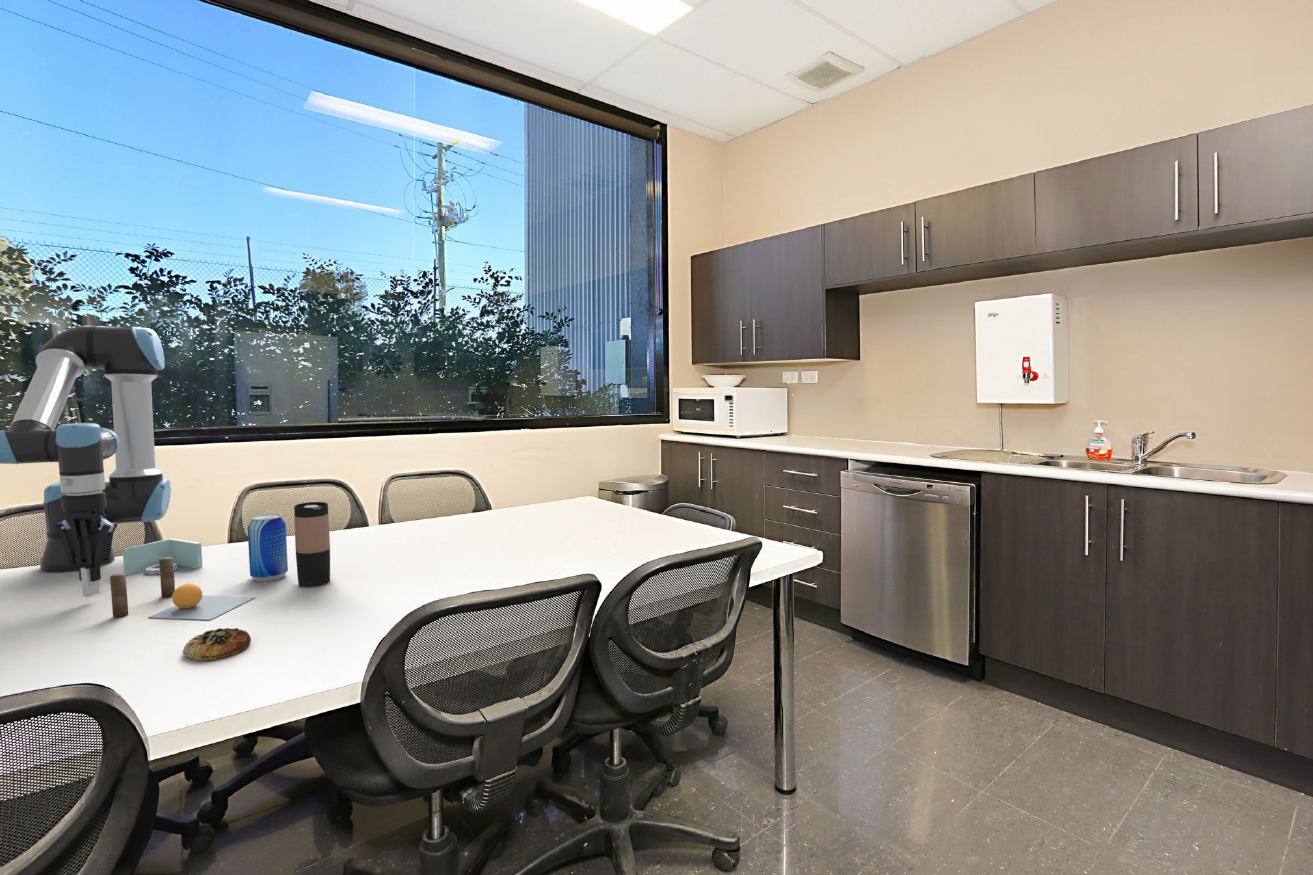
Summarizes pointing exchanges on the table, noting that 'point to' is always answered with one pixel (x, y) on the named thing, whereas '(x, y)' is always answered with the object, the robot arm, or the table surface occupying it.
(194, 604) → the ball
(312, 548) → the travel mug
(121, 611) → the post
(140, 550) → the l-shaped corner panel
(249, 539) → the beer can
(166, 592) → the post
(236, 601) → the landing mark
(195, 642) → the bread roll
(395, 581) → the table surface
